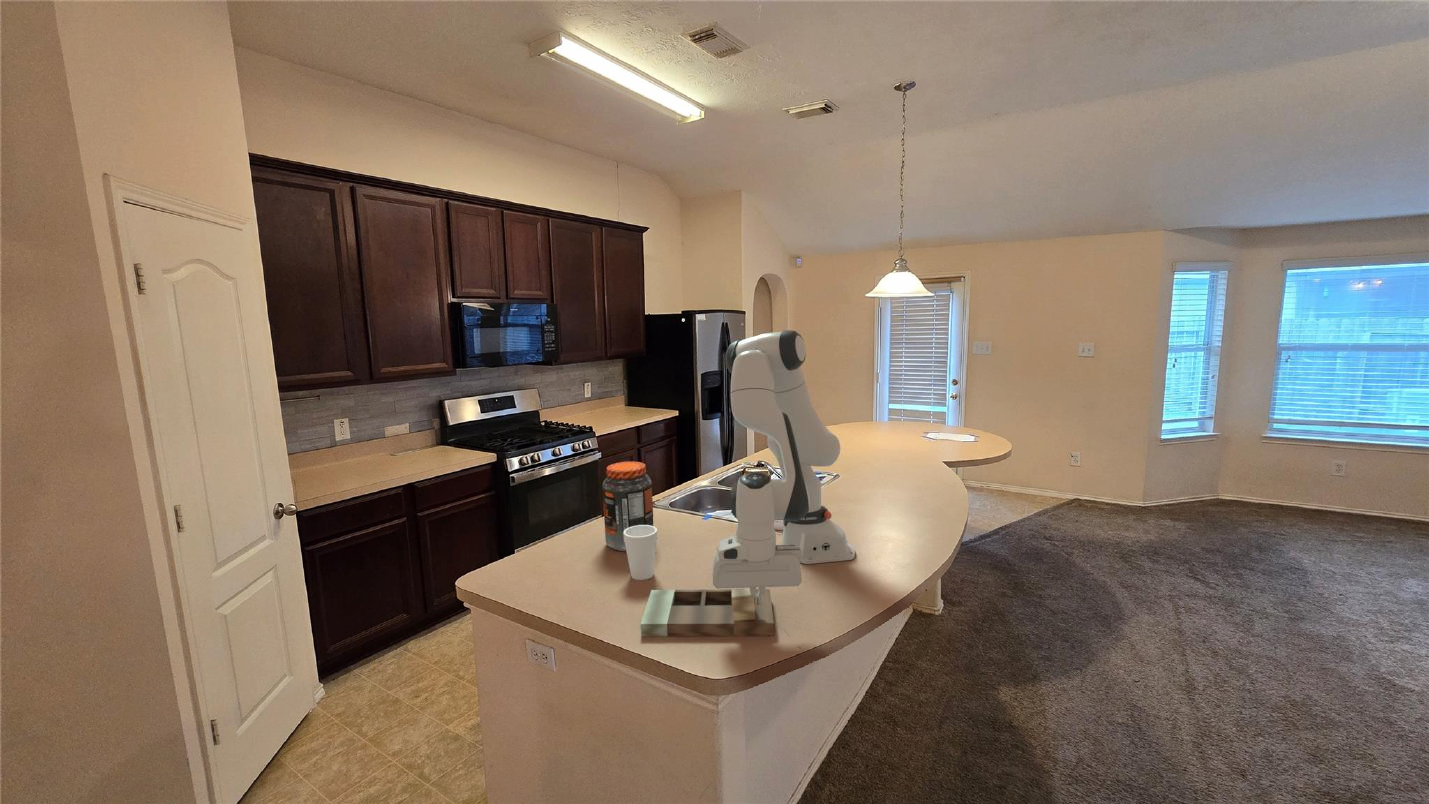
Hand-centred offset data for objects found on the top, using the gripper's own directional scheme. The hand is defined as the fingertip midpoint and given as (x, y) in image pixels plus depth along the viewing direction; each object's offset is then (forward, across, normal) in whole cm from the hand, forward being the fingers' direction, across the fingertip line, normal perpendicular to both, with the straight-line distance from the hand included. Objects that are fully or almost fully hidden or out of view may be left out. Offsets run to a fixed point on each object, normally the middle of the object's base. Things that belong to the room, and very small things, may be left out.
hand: (757, 603), depth 125 cm
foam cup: (+6, +30, -29) cm, 42 cm away
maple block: (+3, +3, 0) cm, 4 cm away
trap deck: (+6, +11, -5) cm, 14 cm away
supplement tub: (+6, +38, -52) cm, 64 cm away
